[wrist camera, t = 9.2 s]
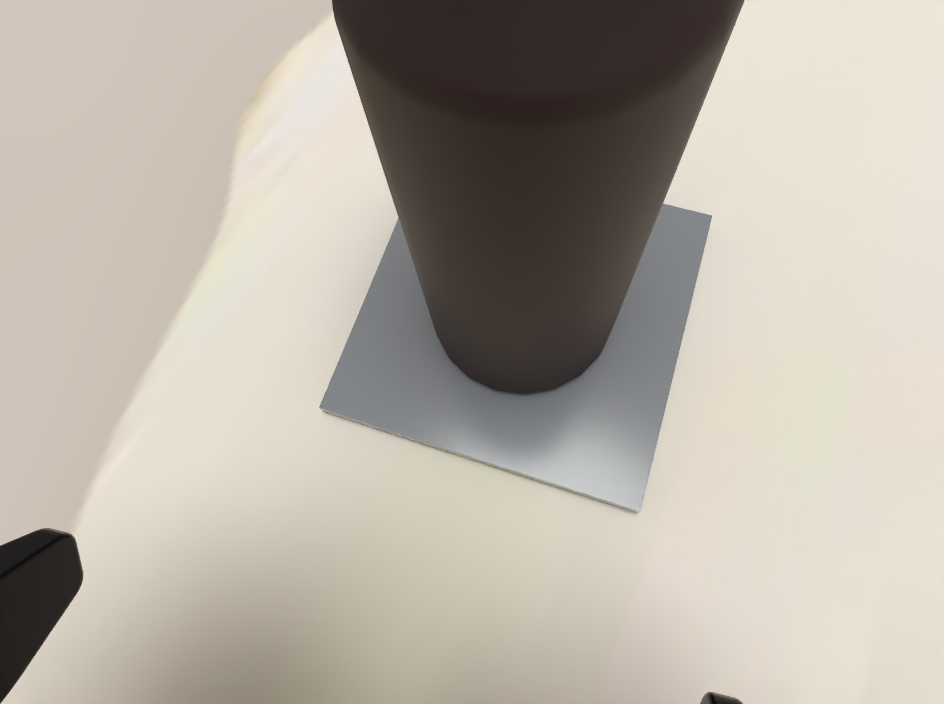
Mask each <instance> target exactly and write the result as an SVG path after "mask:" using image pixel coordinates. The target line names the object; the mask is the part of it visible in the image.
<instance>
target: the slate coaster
mask: <svg viewBox="0 0 944 704" xmlns="http://www.w3.org/2000/svg"><path fill="white" fill-rule="evenodd" d="M711 218H712V216H711V215H707V214H703V213H699V212H695V211H691V210H686V209H682V208H678V207H674V206H670V205H666V204H662V207H661V209H660V212H659V214H658V217H657V219H656V222H655V224H654V227H653V229H652V232H651V234H650V237H649V239H648V241H647V244H646V246H645V249H644V251H643V254H642V256H641V259H640V261H639V264H638V266H637V269H636V271H635V274H634V276H633V279H632V281H631V284H630V286H629V289H628V291H627V294H626V296H625V299H624V301H623V304H622V306H621V309H620V311H619V314H618V316H617V319H616V321H615V324H614V326H613V329H612V331H611V333H610V335H609V337H608V340H607V342H606V344H605V346H604V348H603V350H602V352H601V354H600V356H599V357H598V358H597V359H596V360H595V361H594V362H593V363H592V364H591V365H590V366H589V367H588V368H587V369H586V370H585V371H584V372H583V373H582V374H581V375H580V376H578V377H577V378H575V379H573V380H571V381H569V382H567V383H565V384H563V385H561V386H559V387H557V388H555V389H551V390H545V391H539V392H533V393H528V394H522V393H514V392H507V391H499V390H495V389H493V388H491V387H488V386H486V385H484V384H482V383H480V382H478V381H476V380H474V379H471V378H469V377H468V376H467V375H466V374H465V373H464V372H463V371H462V370H461V369H460V368H459V367H458V366H457V365H456V364H454V363H453V362H452V361H451V360H450V359H449V357H448V355H447V354H446V352H445V350H444V348H443V346H442V344H441V342H440V340H439V338H438V337H437V335H436V332H435V328H434V325H433V322H432V319H431V316H430V313H429V310H428V307H427V304H426V301H425V297H424V294H423V291H422V288H421V285H420V282H419V279H418V276H417V273H416V270H415V266H414V263H413V260H412V257H411V254H410V251H409V248H408V245H407V242H406V239H405V235H404V232H403V229H402V226H401V223H400V220H399V219H398V221H397V223H396V226H395V228H394V231H393V233H392V235H391V238H390V240H389V243H388V245H387V247H386V250H385V252H384V254H383V257H382V259H381V262H380V264H379V266H378V269H377V271H376V274H375V276H374V278H373V281H372V283H371V285H370V288H369V290H368V293H367V295H366V297H365V300H364V302H363V305H362V307H361V309H360V312H359V314H358V316H357V319H356V321H355V324H354V326H353V328H352V331H351V333H350V336H349V338H348V340H347V343H346V345H345V347H344V350H343V352H342V355H341V357H340V359H339V362H338V364H337V367H336V369H335V371H334V374H333V376H332V378H331V381H330V383H329V386H328V388H327V390H326V393H325V395H324V398H323V400H322V402H321V405H320V407H319V408H320V409H321V410H323V411H324V412H327V413H330V414H333V415H336V416H339V417H342V418H345V419H348V420H351V421H355V422H358V423H361V424H364V425H367V426H370V427H373V428H376V429H379V430H382V431H385V432H388V433H392V434H395V435H398V436H401V437H404V438H407V439H410V440H413V441H416V442H419V443H422V444H425V445H428V446H432V447H435V448H438V449H441V450H444V451H447V452H450V453H453V454H456V455H459V456H462V457H465V458H469V459H472V460H475V461H478V462H481V463H484V464H487V465H490V466H493V467H496V468H499V469H502V470H505V471H509V472H512V473H515V474H518V475H521V476H524V477H527V478H530V479H533V480H536V481H539V482H542V483H545V484H549V485H552V486H555V487H558V488H561V489H564V490H567V491H570V492H573V493H576V494H579V495H582V496H586V497H589V498H592V499H595V500H598V501H601V502H604V503H607V504H610V505H613V506H616V507H619V508H622V509H626V510H629V511H632V512H635V513H638V512H640V510H641V505H642V501H643V497H644V493H645V489H646V485H647V481H648V477H649V473H650V468H651V464H652V460H653V456H654V452H655V448H656V444H657V440H658V436H659V432H660V427H661V423H662V419H663V415H664V411H665V407H666V403H667V399H668V395H669V390H670V386H671V382H672V378H673V374H674V370H675V366H676V362H677V358H678V354H679V349H680V345H681V341H682V337H683V333H684V329H685V325H686V321H687V317H688V313H689V308H690V304H691V300H692V296H693V292H694V288H695V284H696V280H697V276H698V271H699V267H700V263H701V259H702V255H703V251H704V247H705V243H706V239H707V235H708V230H709V226H710V222H711Z"/></svg>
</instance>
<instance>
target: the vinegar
mask: <svg viewBox="0 0 944 704" xmlns="http://www.w3.org/2000/svg"><path fill="white" fill-rule="evenodd" d="M743 3H744V0H332V4H333V12H334V17H335V21H336V25H337V28H338V31H339V34H340V37H341V40H342V43H343V46H344V49H345V52H346V56H347V59H348V62H349V65H350V68H351V71H352V74H353V77H354V80H355V83H356V87H357V90H358V93H359V96H360V99H361V102H362V105H363V108H364V111H365V115H366V118H367V121H368V124H369V127H370V130H371V133H372V136H373V139H374V142H375V146H376V149H377V152H378V155H379V158H380V161H381V164H382V167H383V170H384V173H385V177H386V180H387V183H388V186H389V189H390V192H391V195H392V198H393V201H394V204H395V208H396V211H397V214H398V217H399V220H400V223H401V226H402V229H403V232H404V235H405V239H406V242H407V245H408V248H409V251H410V254H411V257H412V260H413V263H414V266H415V270H416V273H417V276H418V279H419V282H420V285H421V288H422V291H423V294H424V297H425V301H426V304H427V307H428V310H429V313H430V316H431V319H432V322H433V325H434V328H435V332H436V335H437V337H438V338H439V340H440V342H441V344H442V346H443V348H444V350H445V352H446V354H447V355H448V357H449V359H450V360H451V361H452V362H453V363H454V364H456V365H457V366H458V367H459V368H460V369H461V370H462V371H463V372H464V373H465V374H466V375H467V376H468V377H469V378H471V379H474V380H476V381H478V382H480V383H482V384H484V385H486V386H488V387H491V388H493V389H495V390H499V391H507V392H514V393H522V394H528V393H533V392H539V391H545V390H551V389H555V388H557V387H559V386H561V385H563V384H565V383H567V382H569V381H571V380H573V379H575V378H577V377H578V376H580V375H581V374H582V373H583V372H584V371H585V370H586V369H587V368H588V367H589V366H590V365H591V364H592V363H593V362H594V361H595V360H596V359H597V358H598V357H599V356H600V354H601V352H602V350H603V348H604V346H605V344H606V342H607V340H608V337H609V335H610V333H611V331H612V329H613V326H614V324H615V321H616V319H617V316H618V314H619V311H620V309H621V306H622V304H623V301H624V299H625V296H626V294H627V291H628V289H629V286H630V284H631V281H632V279H633V276H634V274H635V271H636V269H637V266H638V264H639V261H640V259H641V256H642V254H643V251H644V249H645V246H646V244H647V241H648V239H649V237H650V234H651V232H652V229H653V227H654V224H655V222H656V219H657V217H658V214H659V212H660V209H661V207H662V204H663V202H664V199H665V197H666V194H667V192H668V189H669V187H670V184H671V182H672V179H673V177H674V174H675V172H676V169H677V167H678V164H679V162H680V159H681V157H682V154H683V152H684V149H685V147H686V144H687V142H688V140H689V137H690V135H691V132H692V130H693V127H694V125H695V122H696V120H697V117H698V115H699V112H700V110H701V107H702V105H703V102H704V100H705V97H706V95H707V92H708V90H709V87H710V85H711V82H712V80H713V77H714V75H715V72H716V70H717V67H718V65H719V62H720V60H721V57H722V55H723V52H724V50H725V47H726V45H727V43H728V40H729V38H730V35H731V33H732V30H733V28H734V25H735V23H736V20H737V18H738V15H739V13H740V10H741V8H742V5H743Z"/></svg>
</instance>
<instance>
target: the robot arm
mask: <svg viewBox="0 0 944 704" xmlns="http://www.w3.org/2000/svg"><path fill="white" fill-rule="evenodd" d="M82 580H83V570H82V565H81V561H80V556H79V552H78V547H77V543H76V540H75V538H74V536H73V535H72V534H70V533H67V532H63V531H59V530H55V529H50V528H44V529H40V530H37V531H34V532H32V533H30V534H27V535H25V536H22V537H20V538H18V539H15V540H13V541H10V542H8V543H6V544H4V545H1V546H0V703H1V702H2V701H3V700H4V698H5V697H6V696H7V694H8V693H9V692H10V690H11V689H12V688H13V686H14V685H15V683H16V682H17V681H18V679H19V678H20V677H21V675H22V674H23V672H24V671H25V669H26V668H27V666H28V665H29V663H30V662H31V660H32V659H33V657H34V656H35V655H36V653H37V652H38V650H39V649H40V647H41V646H42V644H43V643H44V641H45V640H46V638H47V637H48V635H49V634H50V632H51V631H52V629H53V628H54V626H55V625H56V623H57V622H58V621H59V619H60V618H61V616H62V615H63V613H64V612H65V610H66V609H67V607H68V606H69V604H70V603H71V601H72V600H73V598H74V597H75V595H76V594H77V592H78V591H79V589H80V586H81V584H82ZM700 704H743V703H742V702H741V701H739V700H738V699H736V698H734V697H730V696H726V695H722V694H717V693H713V692H708V693H706V694H705V695H704V697H703V698H702V701H701V703H700Z"/></svg>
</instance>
